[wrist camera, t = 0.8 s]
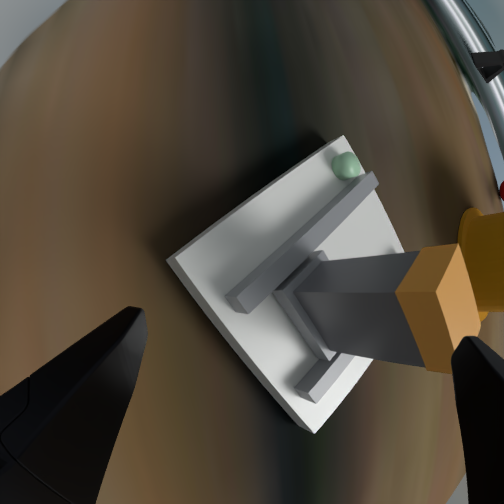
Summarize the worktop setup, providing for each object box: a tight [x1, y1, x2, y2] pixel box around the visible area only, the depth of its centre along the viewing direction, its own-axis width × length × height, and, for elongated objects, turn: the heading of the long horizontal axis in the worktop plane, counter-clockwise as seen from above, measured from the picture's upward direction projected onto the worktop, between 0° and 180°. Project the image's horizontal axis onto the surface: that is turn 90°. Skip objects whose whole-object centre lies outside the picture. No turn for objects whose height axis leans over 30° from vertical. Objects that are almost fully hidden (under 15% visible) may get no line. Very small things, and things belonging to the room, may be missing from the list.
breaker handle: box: [272, 243, 481, 374], centre depth 16 cm, size 4×6×10 cm, turn 38°
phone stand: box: [471, 50, 504, 83], centre depth 62 cm, size 9×6×12 cm, turn 72°
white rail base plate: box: [166, 135, 404, 434], centre depth 23 cm, size 17×16×4 cm
